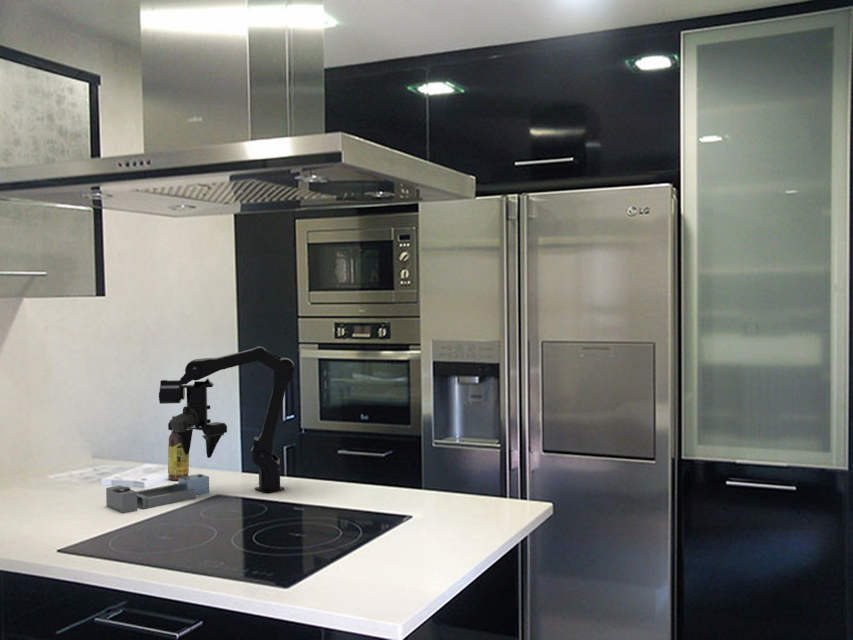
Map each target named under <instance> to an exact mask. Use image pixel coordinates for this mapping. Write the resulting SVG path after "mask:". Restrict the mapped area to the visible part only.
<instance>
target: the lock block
mask: <svg viewBox="0 0 853 640" xmlns="http://www.w3.org/2000/svg"><path fill="white" fill-rule="evenodd" d="M177 484H178V489H179V491H183V490H190V489H195V497H197V496H196V495H198V496H201V495H202V494H203V495H207V494H210V476H209V475H205V474H202V473H197V474H191V475H188V476H185V477H180V478H178V480H177Z"/></svg>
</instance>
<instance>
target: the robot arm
mask: <svg viewBox="0 0 853 640" xmlns="http://www.w3.org/2000/svg"><path fill="white" fill-rule="evenodd" d="M254 362H260V363H261V364H263V365H265V366H266V367H267V368H269V369H271V370H273V371H274V374H273V375H274V377H273V388H272V392H271V396H270V400H269V402H268V408H267V410H266V411H267V412H266V415H265V419H264V423H263V426H262V432H261V433H260V435H259V437H258V436H254V438H253V446H252V447H251V450H250V454H252V456H251V458H252V461H253V463H254V464H255V465H256V466H258V467H259V468H258V486H257V487H254V491H255V490H256V491H258V490H259V491H258V492H262V491H263V492H262V493H265V492H266V494H269V493H273V491H274V492H278V491H277V490H279V491H282V490H281V489H283V490H285V489H284V488H285V487H284V486H281V469H280V458H279V457H278V456H277V455H276V454H274V452H273V450H274V437H275V432H276V428H277V425H278V421H279V416H280V413H281V409H282V405H283V402H284V398H285V394H286V390H287V388H288V387H289V385H290V382H291V380H292V378H293V376H294V373H295V363H294V361H293V360H292V359H290V358H288V357H281V356H279V355H277V354H276V353H273V352H271V351H269V350H267V349H266V348H265V347H264V346H256V347H255V348H250V349H247V350H243V351H239V352H234V353H231V354H226V355H223V356H219V357H206V358H205V357H204V358H194V359H192V360H190V362H188V363H187V364H186V365H185V369H184V374H183V376H181V377H180V379H179V380H178V379H177V380H176V379H174V380H168V379H161V380H160V382H159V383H160V386H159V392H158V401H159V404H160V405H161V404H181V403H182V401H183V400H186V406H183V408H182V413H180V414H177V415H178V416H176V417H174V418H173V419H172V418H171V419H170V420H169V422H168V423H167V427H168V428H167V430H168V431H171V433H174V434H175V435H176V436H178V438H179V440H180V442H181V445H182V448H183V450H184V453H185V455H187V454H189V455H190V449H191V444H192V437H193V431H194V430H195V431H202V433H203V435H202V437H203V439H204V440H205V448H206V458H207V459H210V458H211V457H212V456H213V454H214V451H215V449H216V447H217V444H218V443H219V441H220V440H221V437H223V436H224V435H225V434H226V433H228V425H227V424H226V423H225V422H220V421H219V422H218V421H216V422H211V419H209V418H208V410H210V409H211V405H210V404H209V405H208V388H213V387H214V383H213V382H212V381H211V380H210V378H207V377H208V376H211V375H213V374H215V373H216V372H220V371H223V370H226V369H231V368H234V367H238V366H242V365H245V364H250V363H254ZM204 378H206V379H205V380H203V381H202V380H201V379H204ZM199 380H201V381H199ZM191 381H194V383H193V384H189V383H190V382H191ZM185 397H186V399H185ZM268 492H269V493H268Z"/></svg>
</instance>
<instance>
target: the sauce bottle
mask: <svg viewBox="0 0 853 640" xmlns="http://www.w3.org/2000/svg"><path fill="white" fill-rule="evenodd" d="M178 415H179V414H174V415H172V418H171V419H173V418H174V417H176V416H178ZM167 447H168V451H167V453H168V454H167V455H168V456H167V459H168V460H167V475H168V477H167V478H168V480H171V481H178V478H180V477H185V476H189V472H190V471H189V470H190V469H189V467H190V453H189V454H187V455H185V453H184V450H183V448H182V445H181V442H180V440H179V438H178V436H176V435H175V434H174V433H172V432H171V433H170V435H169V436H168V446H167Z"/></svg>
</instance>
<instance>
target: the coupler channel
mask: <svg viewBox="0 0 853 640" xmlns="http://www.w3.org/2000/svg"><path fill="white" fill-rule="evenodd" d="M105 491H106V492H105V495H106V497H105V498H106V507H108V508H110V509H112V510H114V509H115V510H114V511H117V512H119V513H121V512H122V514H126V513H130V511H131V512H136V511H138V508H139V509H141V510H144V509H145V510H146V509H150V508H155V507H160V506H164V505H169V504H176V503H178V502H179V501H180V502H183V501H184V500H185V501H188V499H189V500H195V499H196V496H195V489H190V490H183V491H179V489H178V483H173V484H168V485H163V486H158V487H152V488H147V489H141V490H137V491H136V490H134V489H131V487H129V486H124V485H115V486H110V487H106V489H105ZM180 502H179V503H180ZM125 512H126V513H125Z"/></svg>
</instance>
